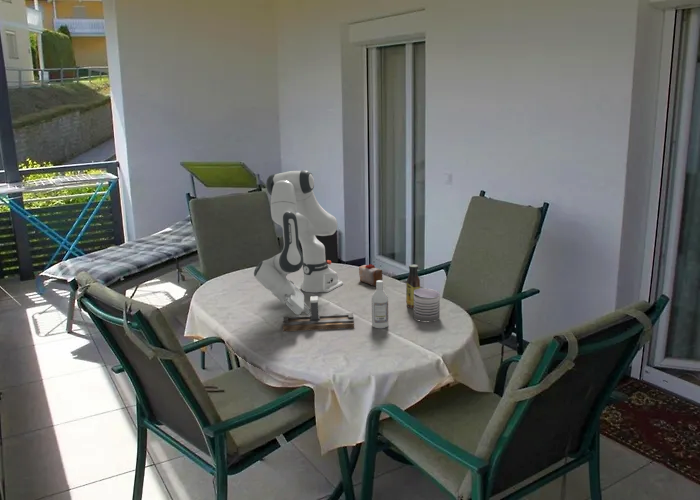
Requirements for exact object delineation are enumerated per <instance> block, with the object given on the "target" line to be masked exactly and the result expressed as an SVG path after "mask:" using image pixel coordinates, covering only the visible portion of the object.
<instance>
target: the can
mask: <svg viewBox="0 0 700 500" xmlns="http://www.w3.org/2000/svg"><path fill="white" fill-rule="evenodd" d="M440 296H441V295H440V291H438V290H435V289H432V288H423V287H420V289H416V290H414V308H413V319H414V320H415V319H417V320H420V321H434V320H437V319H438V318H439V319H440V316H441V315H440V314H441V313H440V312H441V311H440V310H441V309H440V305H441V303H440V300H441V297H440ZM439 319H438V320H439ZM417 320H416V321H417ZM438 320H437V321H438ZM420 321H419V322H420ZM434 322H435V321H434Z"/></svg>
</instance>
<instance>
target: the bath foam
mask: <svg viewBox="0 0 700 500" xmlns="http://www.w3.org/2000/svg"><path fill="white" fill-rule="evenodd" d="M375 287H376V289H375V291H374V292H373V293H372V295H371V326H372V327H373V328H375V329H386V328H388V326H389V298H388V297H389V296H388V295H387V293H386V291H385V290H384V281H383V279H382V280H378V281H376V286H375ZM385 327H386V328H385Z"/></svg>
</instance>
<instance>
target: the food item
mask: <svg viewBox="0 0 700 500" xmlns="http://www.w3.org/2000/svg"><path fill="white" fill-rule="evenodd" d="M358 273H359V281H360V282H362V283H366V284H368V285H371V286H373V287H376V281H378V280H382V281H383V269H380V268H378V267H375V264H372V263H369V264H363V265H361V266H358Z"/></svg>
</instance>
